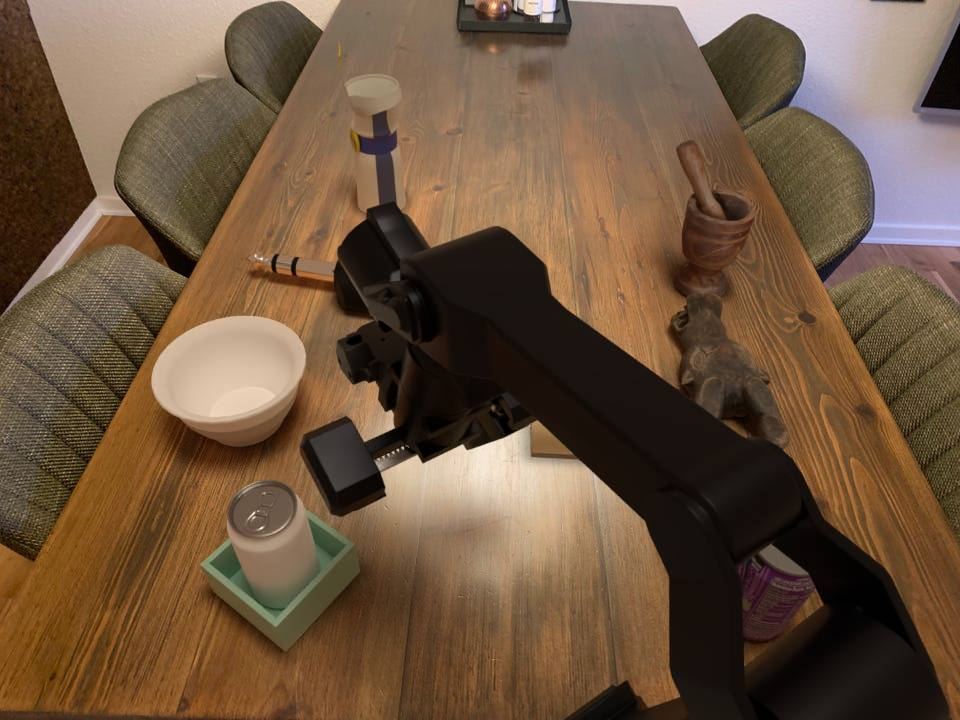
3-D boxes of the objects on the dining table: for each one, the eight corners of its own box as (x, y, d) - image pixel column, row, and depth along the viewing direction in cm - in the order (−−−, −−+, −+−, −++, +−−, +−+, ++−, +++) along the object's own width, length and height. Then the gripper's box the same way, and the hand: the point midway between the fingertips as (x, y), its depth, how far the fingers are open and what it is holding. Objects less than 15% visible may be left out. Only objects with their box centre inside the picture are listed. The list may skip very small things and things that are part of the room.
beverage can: (734, 558, 70) (772, 489, 62) (799, 608, 67) (850, 541, 58) (693, 605, 67) (729, 538, 58) (761, 660, 63) (809, 597, 55)
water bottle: (364, 223, 109) (347, 60, 92) (348, 195, 115) (329, 36, 97) (415, 212, 112) (407, 51, 94) (397, 185, 117) (386, 28, 99)
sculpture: (730, 321, 95) (747, 282, 90) (788, 482, 78) (813, 445, 73) (656, 319, 95) (668, 279, 90) (697, 480, 77) (716, 442, 72)
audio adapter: (407, 296, 89) (223, 266, 92) (409, 327, 93) (232, 297, 96) (430, 246, 97) (259, 220, 100) (431, 277, 100) (266, 251, 104)
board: (639, 462, 78) (641, 457, 78) (531, 456, 79) (531, 452, 78) (627, 371, 88) (628, 366, 88) (530, 366, 88) (531, 361, 88)
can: (240, 604, 65) (208, 535, 57) (266, 542, 70) (240, 470, 61) (308, 616, 64) (286, 548, 56) (330, 553, 69) (313, 481, 60)
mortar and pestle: (642, 292, 99) (673, 163, 85) (649, 257, 105) (680, 131, 91) (727, 309, 97) (773, 180, 83) (729, 272, 103) (773, 145, 89)
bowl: (268, 492, 74) (252, 441, 68) (142, 447, 78) (116, 395, 72) (341, 387, 85) (332, 335, 79) (227, 353, 89) (210, 301, 83)
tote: (360, 571, 68) (355, 543, 65) (286, 652, 63) (275, 627, 59) (289, 519, 72) (280, 490, 69) (213, 591, 66) (199, 564, 63)
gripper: (496, 247, 54) (465, 354, 67) (259, 334, 46) (276, 435, 60) (579, 361, 50) (528, 451, 63) (333, 476, 42) (334, 551, 56)
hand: (419, 467), depth 60 cm, fingers open, 9 cm apart
